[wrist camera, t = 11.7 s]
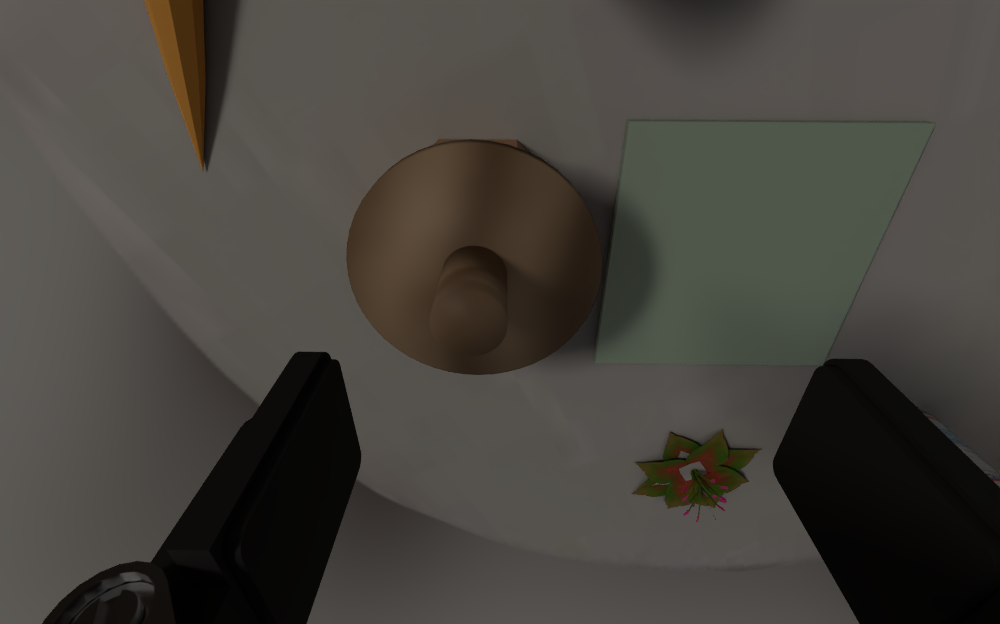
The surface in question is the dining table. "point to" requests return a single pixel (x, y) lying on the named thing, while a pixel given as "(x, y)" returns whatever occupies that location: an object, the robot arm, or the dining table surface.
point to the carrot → (183, 59)
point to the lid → (474, 257)
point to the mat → (746, 236)
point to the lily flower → (695, 472)
